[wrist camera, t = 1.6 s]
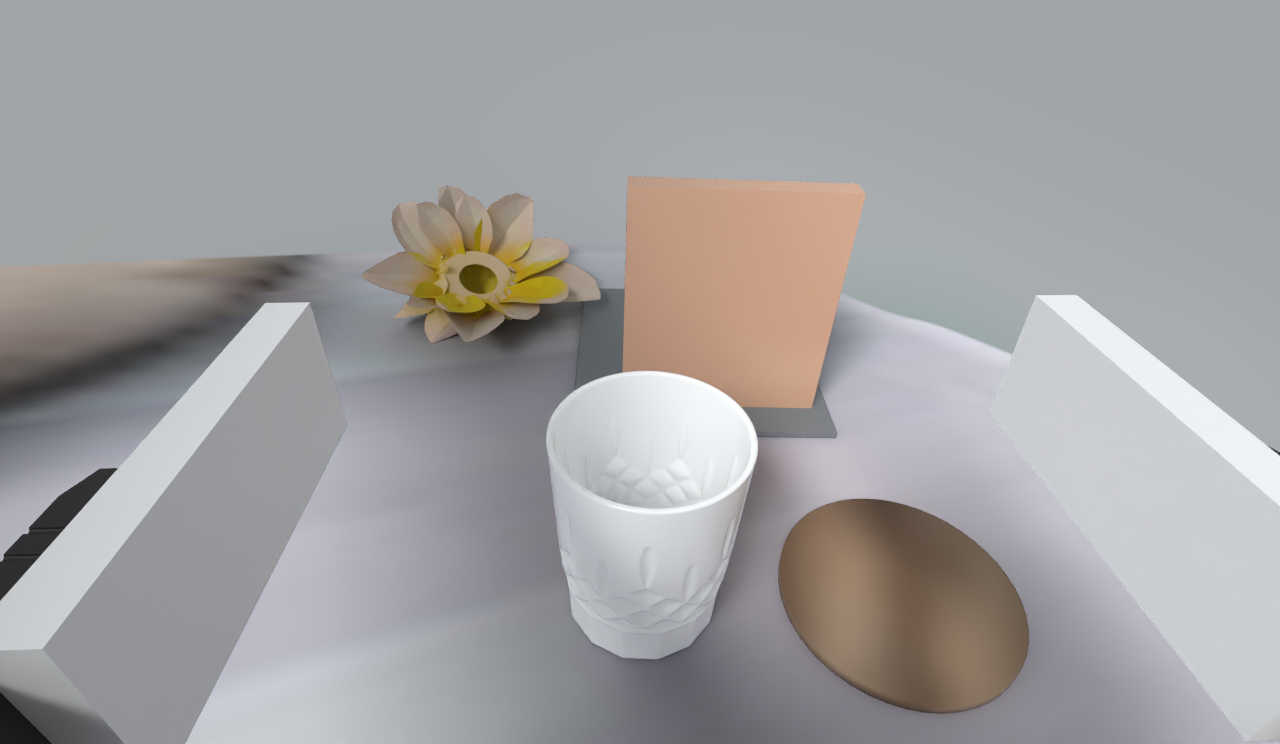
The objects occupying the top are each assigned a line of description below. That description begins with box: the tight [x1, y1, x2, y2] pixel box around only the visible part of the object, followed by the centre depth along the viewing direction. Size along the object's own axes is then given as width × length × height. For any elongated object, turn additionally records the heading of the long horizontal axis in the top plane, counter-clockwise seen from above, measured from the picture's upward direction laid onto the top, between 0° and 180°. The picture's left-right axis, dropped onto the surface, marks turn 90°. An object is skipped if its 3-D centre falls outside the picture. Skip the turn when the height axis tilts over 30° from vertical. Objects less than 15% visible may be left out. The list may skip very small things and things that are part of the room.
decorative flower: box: [361, 185, 601, 343], centre depth 46 cm, size 15×11×10 cm
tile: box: [622, 176, 866, 408], centre depth 37 cm, size 12×2×14 cm, turn 91°
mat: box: [575, 289, 837, 438], centre depth 46 cm, size 16×17×1 cm
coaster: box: [778, 499, 1029, 713], centre depth 31 cm, size 11×11×1 cm
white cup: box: [546, 371, 758, 659], centre depth 27 cm, size 8×8×10 cm
